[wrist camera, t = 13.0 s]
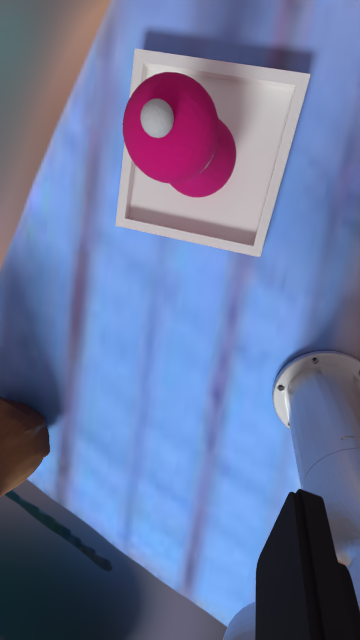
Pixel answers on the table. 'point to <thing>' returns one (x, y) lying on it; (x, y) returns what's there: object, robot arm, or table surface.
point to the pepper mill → (178, 135)
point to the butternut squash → (20, 443)
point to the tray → (251, 155)
